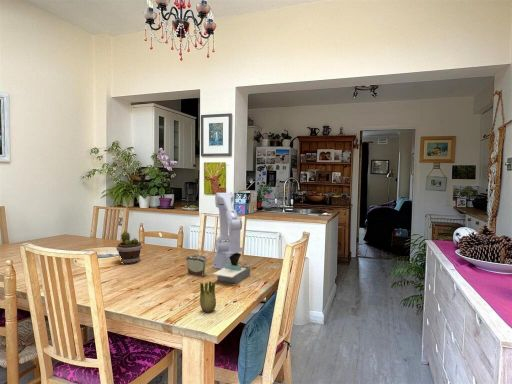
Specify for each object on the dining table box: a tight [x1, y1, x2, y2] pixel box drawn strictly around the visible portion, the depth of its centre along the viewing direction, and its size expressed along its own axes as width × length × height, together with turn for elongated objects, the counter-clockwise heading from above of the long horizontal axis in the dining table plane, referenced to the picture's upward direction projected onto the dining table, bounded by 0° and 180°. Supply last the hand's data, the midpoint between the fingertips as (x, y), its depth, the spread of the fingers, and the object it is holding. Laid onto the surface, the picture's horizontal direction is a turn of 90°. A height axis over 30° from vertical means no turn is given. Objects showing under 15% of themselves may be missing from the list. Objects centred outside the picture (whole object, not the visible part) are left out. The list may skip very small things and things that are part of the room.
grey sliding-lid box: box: [217, 265, 251, 285], centre depth 171 cm, size 11×16×4 cm
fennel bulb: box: [199, 280, 217, 313], centre depth 129 cm, size 6×5×12 cm
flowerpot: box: [115, 230, 143, 265], centre depth 197 cm, size 14×15×20 cm
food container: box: [185, 254, 207, 278], centre depth 175 cm, size 12×6×10 cm, turn 65°
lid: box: [212, 264, 246, 278], centre depth 166 cm, size 11×16×2 cm
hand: (234, 267), depth 170 cm, fingers closed
